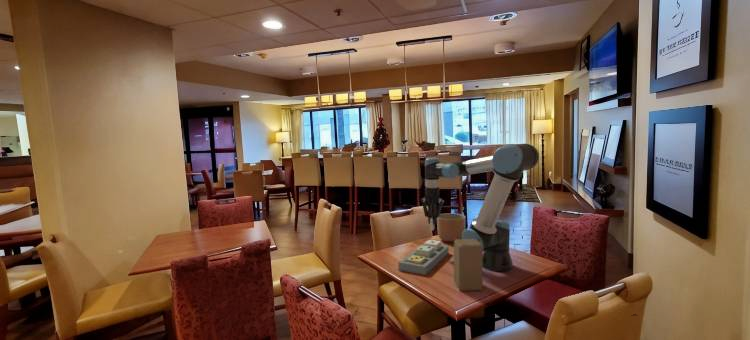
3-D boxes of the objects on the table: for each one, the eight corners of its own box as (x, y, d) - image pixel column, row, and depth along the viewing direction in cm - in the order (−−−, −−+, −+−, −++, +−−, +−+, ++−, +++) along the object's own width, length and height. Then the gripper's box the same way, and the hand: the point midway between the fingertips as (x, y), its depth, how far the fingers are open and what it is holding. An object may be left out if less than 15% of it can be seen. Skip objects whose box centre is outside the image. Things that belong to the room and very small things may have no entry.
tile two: (433, 254, 189) (433, 246, 188) (428, 258, 183) (428, 250, 182) (421, 252, 192) (421, 244, 192) (416, 256, 186) (416, 248, 186)
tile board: (448, 253, 199) (448, 246, 199) (425, 275, 170) (425, 267, 169) (424, 249, 206) (424, 242, 205) (398, 270, 177) (398, 262, 176)
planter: (471, 241, 219) (471, 217, 217) (450, 246, 210) (450, 221, 209) (452, 235, 233) (452, 211, 232) (431, 239, 225) (431, 215, 223)
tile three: (425, 264, 179) (425, 256, 179) (420, 269, 173) (420, 261, 173) (412, 262, 183) (412, 254, 182) (407, 267, 177) (407, 258, 176)
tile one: (440, 248, 198) (440, 241, 198) (436, 252, 192) (436, 244, 192) (428, 246, 202) (428, 239, 201) (424, 250, 196) (424, 242, 195)
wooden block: (475, 281, 162) (476, 237, 160) (483, 291, 152) (483, 245, 150) (453, 282, 161) (453, 238, 159) (459, 292, 152) (459, 245, 149)
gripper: (446, 186, 193) (446, 229, 196) (423, 185, 200) (423, 226, 202) (441, 188, 187) (441, 233, 189) (418, 187, 193) (418, 230, 196)
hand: (432, 229), depth 196 cm, fingers closed
